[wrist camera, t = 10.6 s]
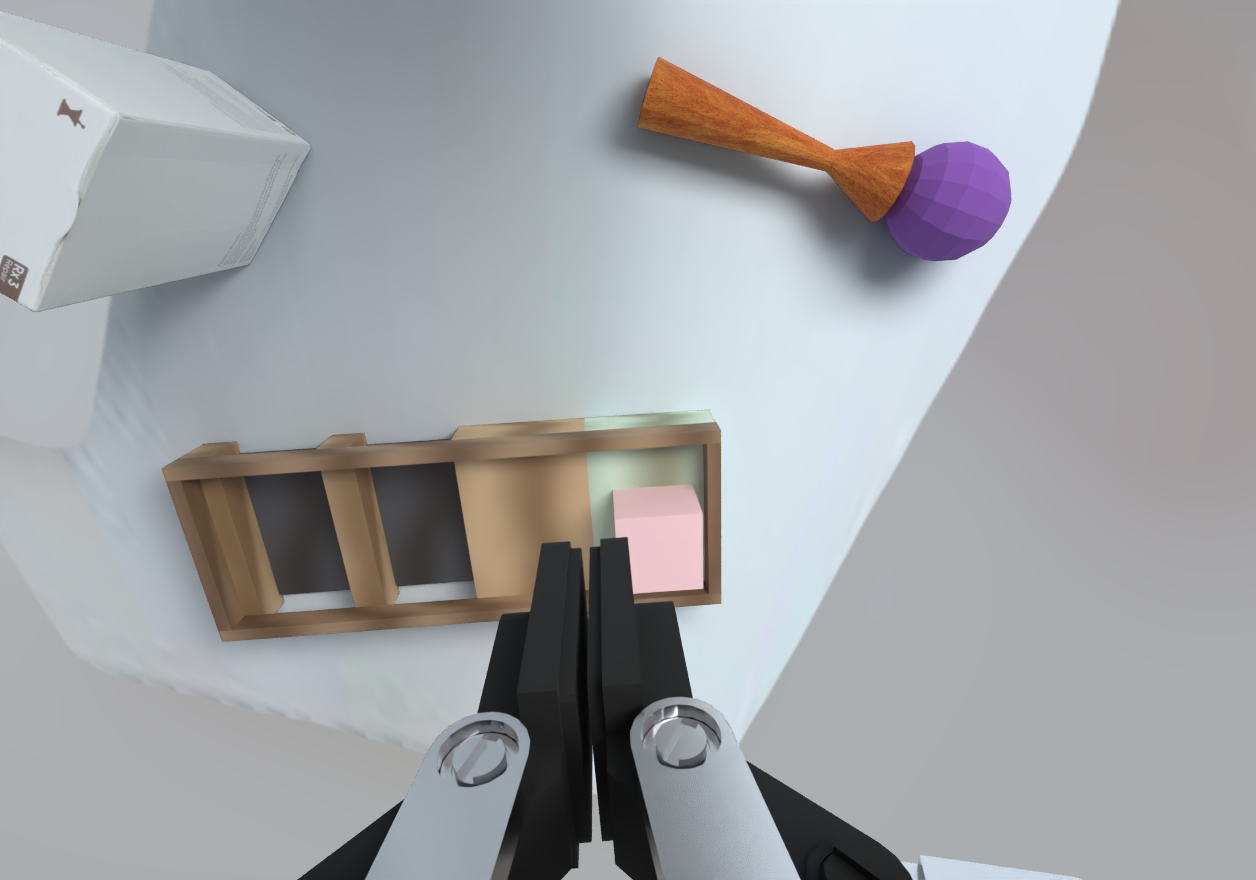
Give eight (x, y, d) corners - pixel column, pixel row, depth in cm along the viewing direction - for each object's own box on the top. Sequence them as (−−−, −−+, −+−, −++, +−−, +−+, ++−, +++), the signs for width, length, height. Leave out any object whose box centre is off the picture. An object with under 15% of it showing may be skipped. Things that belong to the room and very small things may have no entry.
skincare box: (214, 71, 31) (-89, -42, 18) (321, 150, 33) (120, 102, 19) (148, 210, 34) (-170, 205, 20) (252, 277, 35) (24, 318, 21)
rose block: (612, 489, 38) (614, 519, 34) (692, 484, 38) (702, 513, 34) (617, 558, 40) (619, 594, 36) (693, 553, 40) (703, 588, 36)
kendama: (672, 1, 28) (1057, 149, 30) (661, 61, 34) (983, 182, 36) (632, 130, 29) (1009, 268, 31) (628, 167, 35) (944, 281, 36)
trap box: (255, 604, 42) (222, 641, 39) (204, 443, 38) (161, 468, 35) (710, 570, 43) (721, 603, 40) (708, 409, 39) (720, 430, 35)
